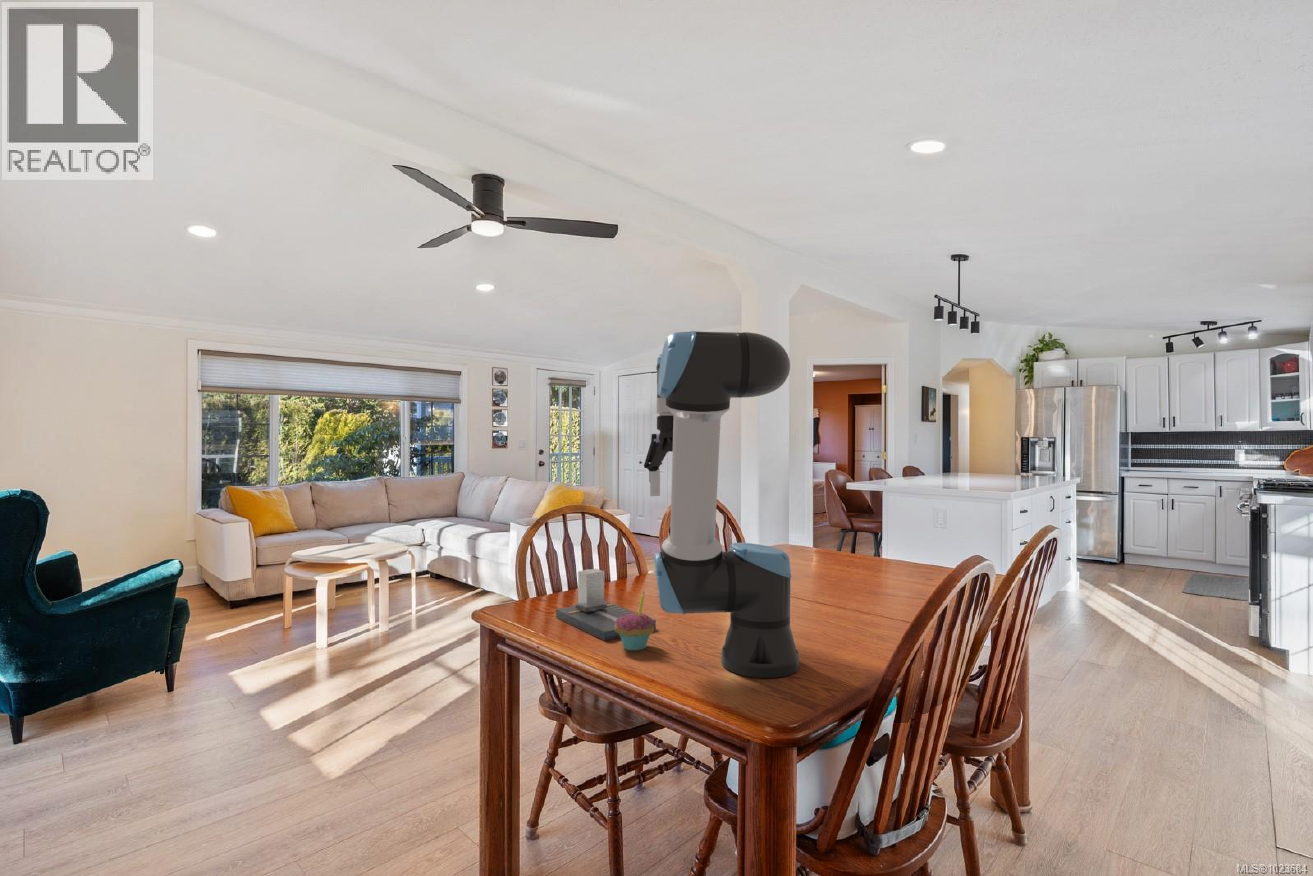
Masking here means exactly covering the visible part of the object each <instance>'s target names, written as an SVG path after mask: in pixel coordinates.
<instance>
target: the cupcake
mask: <svg viewBox="0 0 1313 876" xmlns="http://www.w3.org/2000/svg"><path fill="white" fill-rule="evenodd" d="M644 594H645V591H642V594H641V595H640V601H639V606H638V612H635V613H629V614H628V613H627V614H625V615H622V616H621V617H619V618H618V619H617V620H616V622H615V632H617V633H619V635H620V639H621V642H622V646H623V648H624V649H625V650H627V651H641V650H644V649H646V648H647V644H648V641H649V637H650V635H651V634H653V632H654V630H655V629H654V626H655V622H654V621H653V620H654V619H653V618H651V617H649V615H647V614H646V613H643V612H642V611H643V606H644V605H643V604H644V599H645V595H644ZM652 619H653V620H652Z"/></svg>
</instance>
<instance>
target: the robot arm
mask: <svg viewBox="0 0 1313 876" xmlns="http://www.w3.org/2000/svg"><path fill="white" fill-rule="evenodd" d="M655 368H656V393H657V395H656V414H658V415H657V416H656V430H657V431H659V433H651V436H650V437H651V438H650V445H649V448H648V451H647V454H646V457H645V461H644V464H643V468H644V469H647V470H648V472H649V475H648V476H649V480H648V481H649V485H650V488H649V489H650V491H649V496H650V497H660V496H661V470H660V466H661V465H662V463H663V461H664V459H665V457H666V456H667V454H668V453H669V452H670V453H671V452H672V461H671V492H670V493H671V495H670V527H669V528H670V529H669V530H670V531H669V536H668V537H667V538H666V539H665V540H664V541H663V542H662V544H661V551H657V552H655V553H654V554H653V561H654V562H653V564H654V571H655V579H656V586H657V594H658V598H659V600H658V601H659V605H660V608H661V609H662V611H664V612H665V613H668V614H682V615H686V614H711V613H713V614H714V613H717V614H718V613H729V614H730V619H729V620H730V623H729V626H728V629H727V633H726V635H725V640H724V641H725V642H724V644H723V646H722V649H721V652H720V653H721V654H720V655H721V660H720V662H721V665H722V666H723V667H724V668H725V669H726V670H727V671H730V672H732V673H734V674H737V675H741V676H745V677H750V678H758V679H759V678H760V679H772V678H773V679H775V678H782V677H786V676H790V675H792V674H794V673H796V672H797V671H798V670H799V668H800V653H799V651H798V649H797V647H796V643H795V639H794V635H793V632H792V627H791V578H792V571H791V561H790V557H789V555H788V554H787V553H786V552H785V551H784V550H782V549H779V548H776V547H773V546H770V545H769V546H768V545H763V544H758V543H749V542H734V543H732V544H730V547H729V551H723V545H722V544H721V542H719V540H718V539H717V538H716V521H717V520H716V519H717V505H718V504H717V501H718V480H719V479H718V478H719V459H720V458H719V457H720V442H721V441H720V440H721V439H720V437H721V436H720V434H721V419H722V417H723V415H725V413H727V412H728V411H729V410H730V409H731V408H730V405H731V399H734V398H735V399H736V398H740V399H741V398H755V397H760V396H765V395H767V394H771V393H773V392H774V391H777V390H779V389H780V387H782V386H783V385H784V383H785V382H786V381H787V379H788V377H789V376H790V371H791V360H790V357H789V355H788V353H787V351H786V350H785V348H784V346H782V344H780V343H779V342H778V341H776V340H774V339H773V338H771V337H769V336H766V335H763V334H760V333H755V332H747V331H744V332H732V331H731V332H730V331H729V332H728V331H727V332H726V331H723V332H722V331H699V330H698V331H697V330H689V331H678V332H677V331H675V332H673V333H670V334H669V335H668V336H667V337H666V339H665V341H664V343H663V347H662V351H661V353H660V354H659V355H658V356H657V357H656V367H655Z"/></svg>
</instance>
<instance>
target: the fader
mask: <svg viewBox="0 0 1313 876" xmlns="http://www.w3.org/2000/svg"><path fill="white" fill-rule="evenodd" d="M577 578H578V579H577V580H578V581H577V583H578V584H577V585H578V586H577V589H578V590H577V591H578V593H577V596H578V597H577V599H578V600H577V602H576V603H575V605H574V606H575V608H577V609H580V610H582V611H584V612H590V611H595V610H600V609H605V608H607V604H606V603H604V600H605V571H604V570H601V569H598V568H592V569H589V568H586V569H585V570H579V571H577Z"/></svg>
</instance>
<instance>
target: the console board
mask: <svg viewBox="0 0 1313 876" xmlns="http://www.w3.org/2000/svg"><path fill="white" fill-rule="evenodd" d="M604 603H606V604H607V608H605V609H600V610H595V611H590V612H584V611H582V610H580V609H577V608H575V605H573V606H572V605H571V606H566V607H561V608H556V609H555V618H556V619H558V620H560V621H562V622H564V623H567V624H569V625H571V626H573V627H576V628H577V629H580V630H581V631H583V632H585V633H587V634H589V635H591V636H593V637H596V638H597V639H600V640H601V641H603V642H607V641H610V640H614V639H619V638H620V639H621V637H620V635H619V633H617V632H615V622H616V620H617V619H618V618H619V617H621V616H622V615H625V614H627V613H628V614H629V613H636V612H635V611H633V610H630V609H628V608H625V607H622V606H620V605H617V604H615V603H612V602H610V601H607V600H605V599H604ZM651 619H652V620H653V621H654V622H655V626H654V630H656V627H657V626H656V625H657V624H656V621H657V620H655V619H653V618H651Z"/></svg>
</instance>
